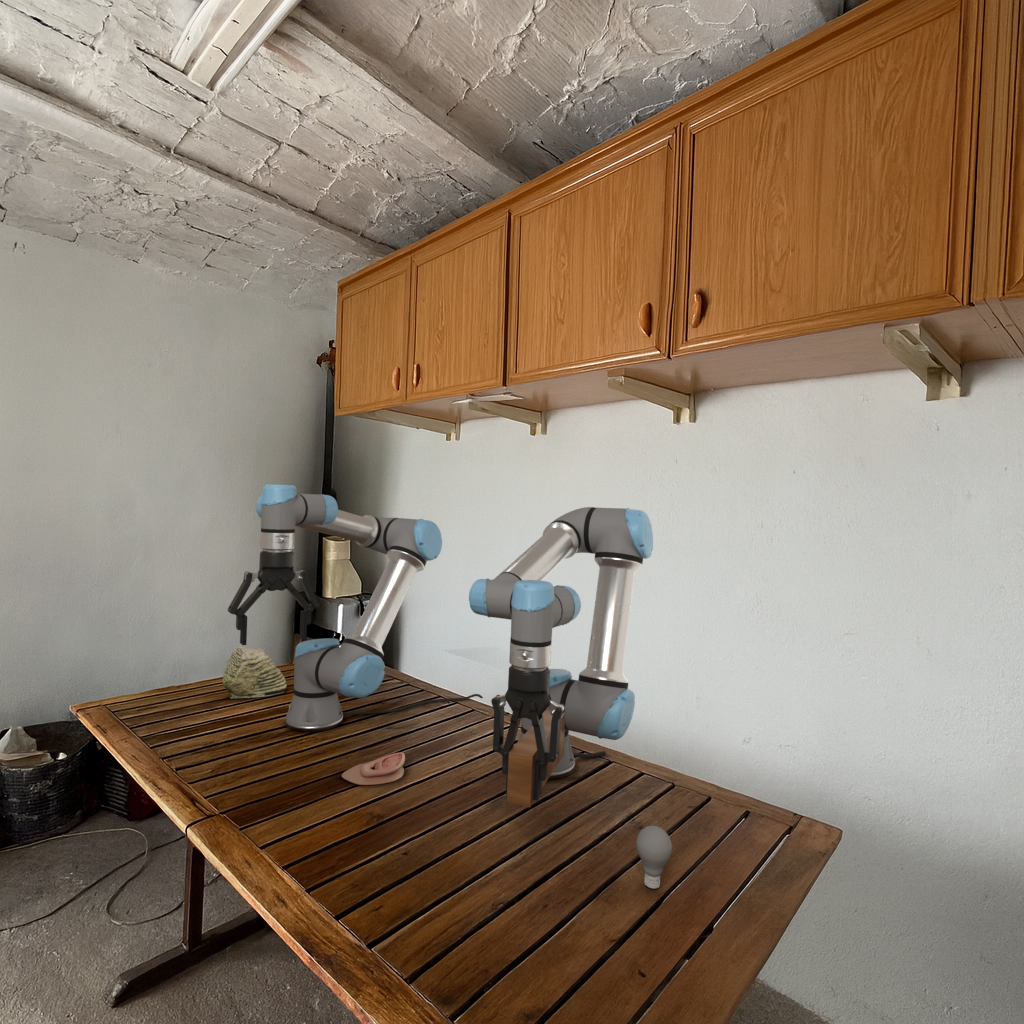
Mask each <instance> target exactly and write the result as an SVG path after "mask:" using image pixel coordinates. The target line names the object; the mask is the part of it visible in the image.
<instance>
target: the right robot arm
mask: <svg viewBox="0 0 1024 1024" xmlns="http://www.w3.org/2000/svg"><path fill="white" fill-rule="evenodd" d="M651 522H652V521H651V519H650V517H649V515H648V514H647V513H646V511H643V510H641V509H634V508H629V507H627V508H624V507H623V508H620V507H595V506H585V507H580V508H576V509H573V510H570V511H568V512H566V513H564V514H562V515H561V516H559V517H557V518H556V519H554V520H553V521H552V522H550V523H549V524H548V525H547V526H546V527H545V528H544V530H543V532H542V535H541V536H540V537H539V538H538V539H537V540H536V541H535V542H534V543H532V544H531V546H529V547H528V548H527V549H526V550H525V551H524V552H522V553H521V554H520V555H519V556H518V557H517V558H516V559H515V560H514V561H512V562H511V563H510V564H509V565H508V566H507V567H506V568H505V569H503V570H502V571H501V572H500V573H499V574H498V575H497V576H496V577H494V578H493V579H490V578H479V579H476V580H475V581H474V582H473V583H472V584H471V587H470V589H469V592H468V601H469V607H470V609H471V611H472V612H473V613H474V614H476V615H478V616H479V615H480V616H483V617H487V618H496V619H504V620H510V622H511V623H510V639H509V640H510V641H509V658H508V659H509V665H510V666H509V667H508V677H507V678H508V679H507V680H508V681H507V690H506V692H505V694H502V695H501V694H496V695H495V696H494V697H493V698H491V700H490V702H491V706H492V709H493V729H492V730H493V732H492V734H493V735H492V751H493V753H498V754H500V755H501V757H502V761H501V762H502V763H501V772H502V774H503V775H506V783H505V795H506V796H507V783H508V760H509V752H510V750H511V749H512V748H513V747H514V746H515V743H516V738H517V735H518V731H519V727H520V734H519V737H518V739H517V742H518V741H519V740H520V739H521V738H522V737H523V736H524V734H525V733H526V732H527V731H528V730H529V729H530V728H531V726H533V728H534V734H535V740H536V746H537V752H538V758H539V759H538V760H537V761H536V763H535V772H534V793H533V800H535V801H539V799H540V797H541V795H542V790H541V788H542V781H545V779H546V778H547V774H548V762H555V760H556V759H557V757H558V756H559V743H560V727H561V716H562V714H563V713H565V735H564V755H563V757H562V758H561V760H560V761H559V763H558V765H557V766H556V768H555V769H554V771H553V772H552V774H551V775H550V777H549V779H548V780H558V779H563V778H566V777H568V776H570V775H572V774H573V773H574V772H575V768H576V767H575V766H576V759H575V758H583V759H591V758H597V757H603V756H606V755H607V752H606V750H603V751H598V752H591V753H580V752H573V747H572V745H571V741H570V737H569V735H570V733H569V732H570V731H571V732H574V733H579V734H582V735H588V736H592V737H596V738H598V739H599V740H600V739H601V740H602V739H605V740H610V741H617V740H619V739H621V738H622V737H623V736H624V735H625V734H626V733H627V730H628V729H629V726H630V724H631V722H632V719H633V717H634V716H633V715H634V711H635V707H636V706H635V705H636V701H635V699H636V695H635V692H634V691H633V690H631V689H630V688H629V679H628V678H627V677H626V675H625V674H624V668H625V660H626V651H627V643H628V634H629V627H630V626H629V625H630V618H631V617H630V616H631V610H632V609H631V608H632V601H633V593H634V585H635V584H634V583H635V575H636V573H637V571H639V570H640V569H641V568H642V567H643V562H644V559H645V560H646V559H649V558H651V556H652V554H653V553H652V552H653V549H654V533H653V527H652V523H651ZM584 553H585V554H593V555H594V558H593V560H594V561H595V563H596V565H597V566H598V568H599V569H598V575H597V576H598V577H597V585H596V592H595V598H594V599H595V600H594V607H593V615H592V623H591V629H590V630H591V631H590V637H589V646H588V654H587V661H586V667H585V668H583V670H581V671H580V672H579V673H578V679H573V675H572V672H571V671H570V670H568V669H564V668H549V667H550V666H551V663H552V641H553V640H552V638H553V629H554V628H557V627H561V626H564V625H567V624H569V623H570V622H572V621H574V620H575V619H576V618H577V617H578V616H579V614H580V612H581V608H582V602H581V597H580V595H579V594H578V592H577V591H576V590H575V589H573V588H572V587H571V586H569V585H560V584H559V585H558V584H557V585H553V583H552V582H550V581H547V580H545V579H546V578H547V577H548V576H549V575H550V574H551V573H552V572H553V571H554V570H555V569H556V568H557V567H558V566H559V565H560V564H561V563H562V562H563V561H564V560H565V559H566V560H567V559H570V558H572V557H574V555H575V554H584ZM507 704H508V706H509V708H510V709H511V711H512V713H511V717H510V723H509V726H508V730H507V733H506V737H505V741H504V736H505V735H504V733H505V706H506V705H507ZM545 710H549V711H550V714H551V715H552V720H551V734H550V750H549V753H548V747H547V741H546V735H545V729H544V723H543V713H544V711H545ZM542 789H543V788H542Z"/></svg>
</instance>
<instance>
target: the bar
mask: <svg viewBox="0 0 1024 1024" xmlns="http://www.w3.org/2000/svg"><path fill="white" fill-rule="evenodd" d="M551 720H552V715H551V714H550V711H549V710H545V711H544V713H543V723H544V729H545V735H546V741H547V747H548V753H549V750H550V734H551ZM564 735H565V713H563V714H562V716H561V727H560V743H559V756H558V757H557V759H556V760H555V762H548V774H547V778H546V779H545V781H542V788H541V791H542V790H543V788H544V787H545V785H546V783H547V782H548V780H550V779H549V777H550V775H551V774H552V772H553V771H554V769H555V768H556V766H557V765H558V763H559V761H560V760H561V758H562V757H563V755H564ZM538 759H539V758H538V752H537V746H536V740H535V734H534V728H533V726H531V728H530V729H529V730H528V731H527V732H526V733H525V734H524V736H523V737H522V738H521V739H520V740H519V741H518V740H517V741H516V744H514V746H513V748H512V749H511V750H510V752H509V760H508V783H507V795H506V803H507V804H512V805H515V806H521V807H526V808H531V807H532V805H533V803H534V802H535V801H536V800H533V793H534V772H535V763H536V761H537V760H538Z"/></svg>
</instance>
